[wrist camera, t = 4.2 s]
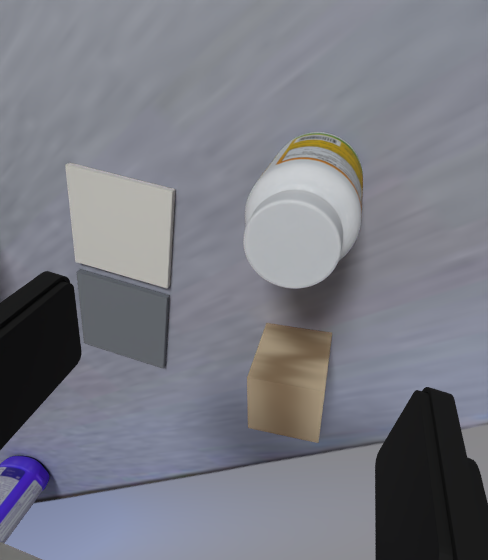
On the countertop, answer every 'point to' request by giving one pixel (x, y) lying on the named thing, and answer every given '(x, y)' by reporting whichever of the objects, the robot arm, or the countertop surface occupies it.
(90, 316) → the slate tile
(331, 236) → the supplement bottle
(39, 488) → the bottle
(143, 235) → the offwhite tile
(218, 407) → the countertop surface
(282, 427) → the beech block
